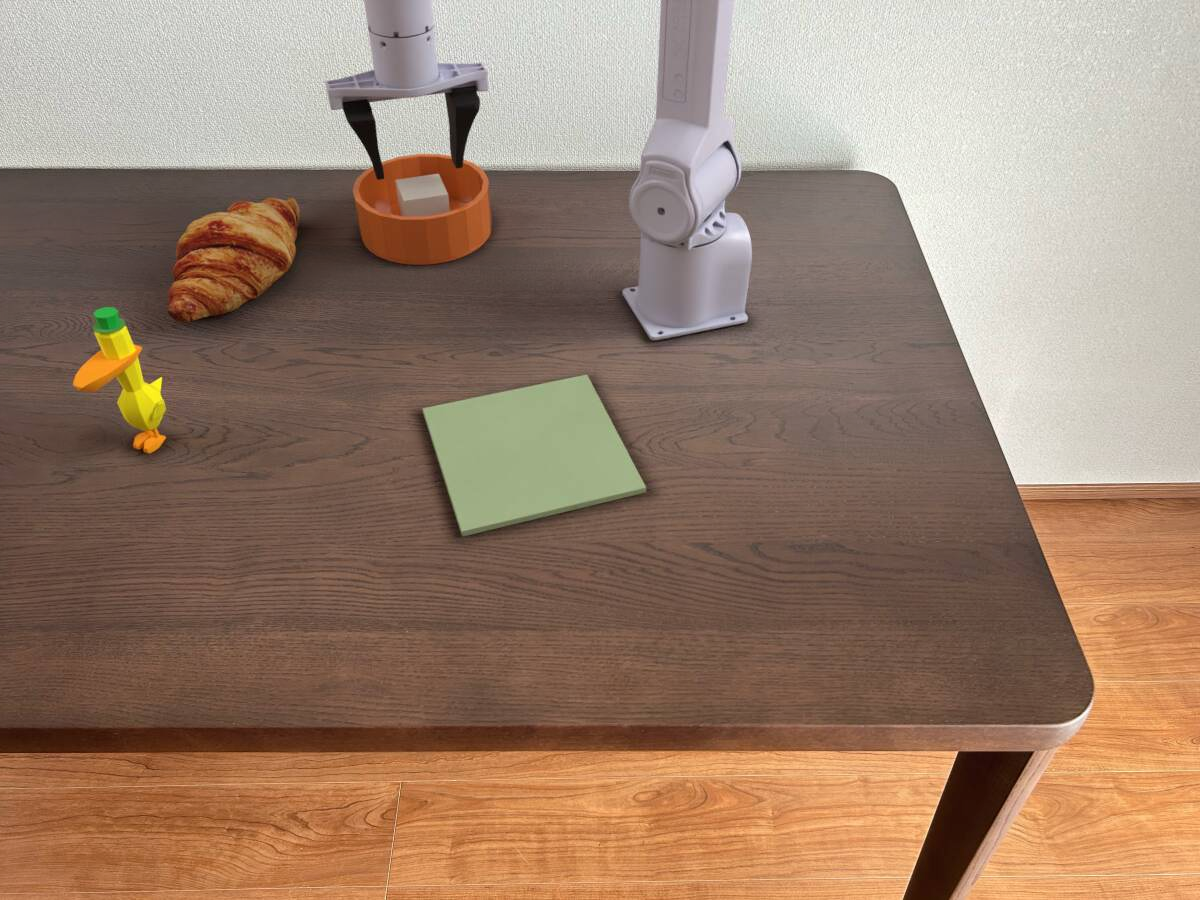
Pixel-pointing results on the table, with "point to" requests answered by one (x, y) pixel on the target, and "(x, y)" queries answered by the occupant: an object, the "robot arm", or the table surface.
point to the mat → (529, 454)
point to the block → (422, 196)
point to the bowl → (423, 234)
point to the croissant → (232, 257)
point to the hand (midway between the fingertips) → (418, 169)
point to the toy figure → (124, 378)
